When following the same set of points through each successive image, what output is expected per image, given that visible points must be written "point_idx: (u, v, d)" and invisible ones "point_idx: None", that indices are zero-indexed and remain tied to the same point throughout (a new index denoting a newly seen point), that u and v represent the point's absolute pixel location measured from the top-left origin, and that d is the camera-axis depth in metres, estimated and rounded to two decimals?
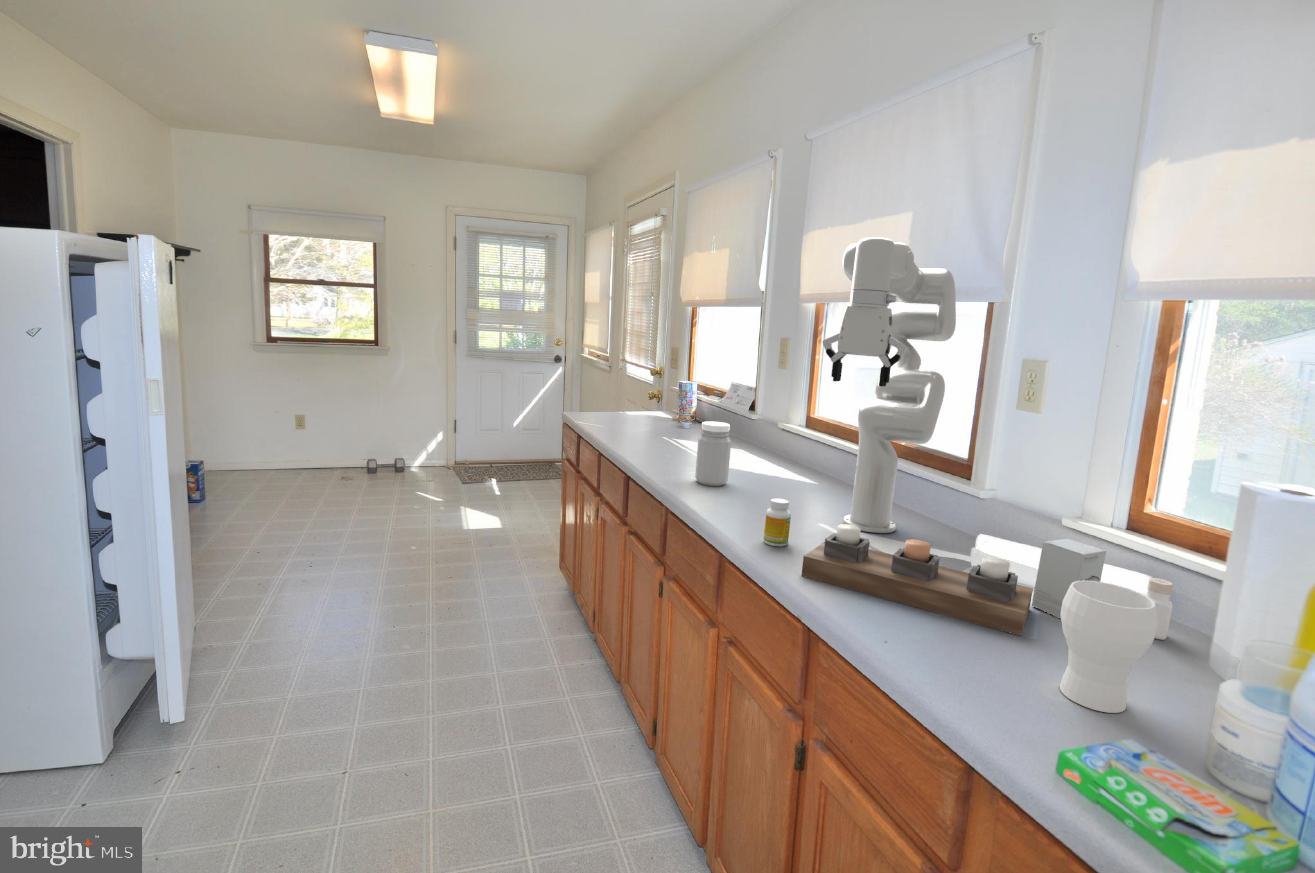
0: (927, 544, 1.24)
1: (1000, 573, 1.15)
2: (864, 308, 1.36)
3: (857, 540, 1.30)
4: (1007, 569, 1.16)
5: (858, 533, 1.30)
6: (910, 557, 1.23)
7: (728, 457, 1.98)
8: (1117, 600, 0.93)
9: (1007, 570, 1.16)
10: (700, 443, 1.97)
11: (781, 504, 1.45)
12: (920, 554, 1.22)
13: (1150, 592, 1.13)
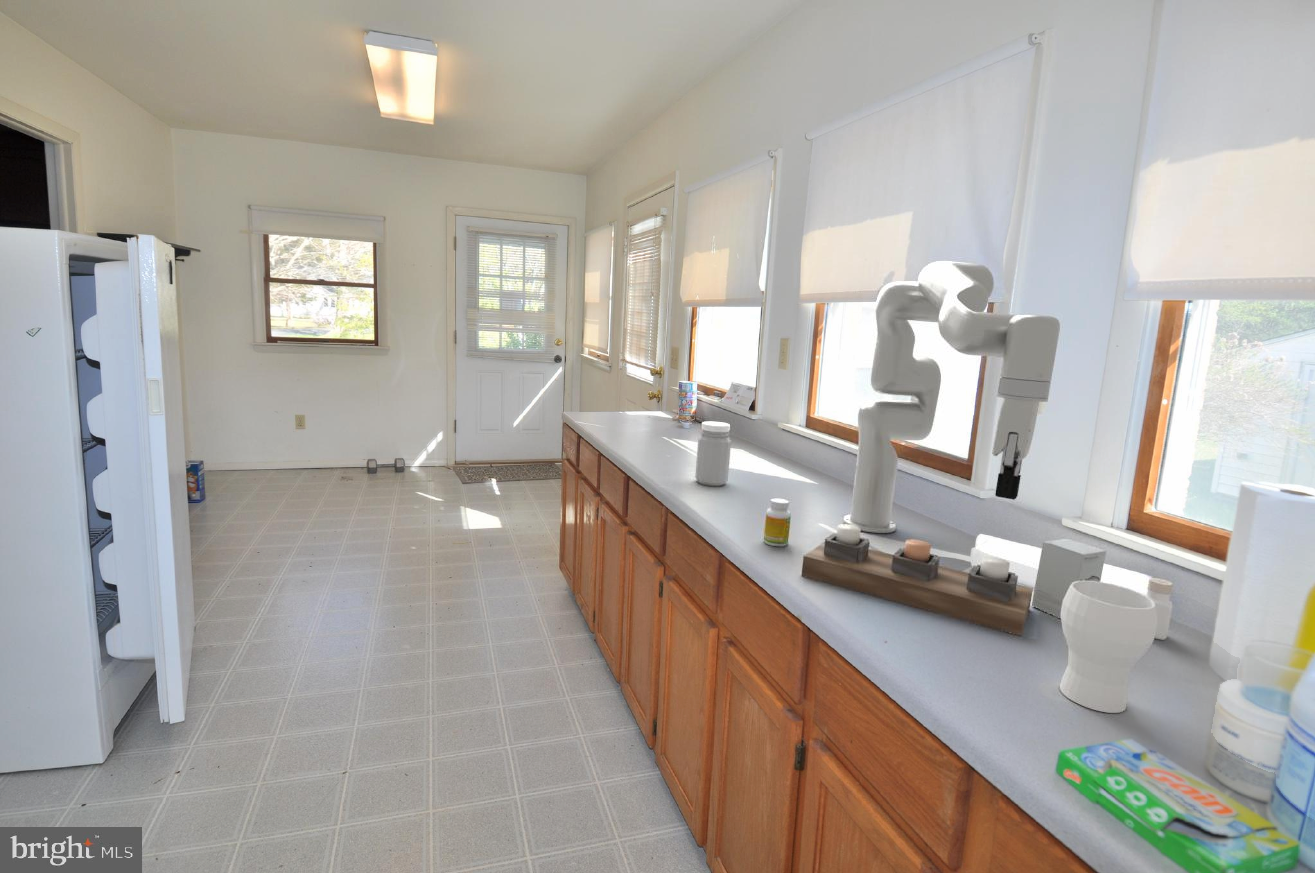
0: (927, 544, 1.24)
1: (1000, 573, 1.15)
2: (1038, 402, 1.11)
3: (857, 540, 1.30)
4: (1007, 569, 1.16)
5: (858, 533, 1.30)
6: (910, 557, 1.23)
7: (728, 457, 1.98)
8: (1117, 600, 0.93)
9: (1007, 570, 1.16)
10: (700, 443, 1.97)
11: (781, 504, 1.45)
12: (920, 554, 1.22)
13: (1150, 592, 1.13)
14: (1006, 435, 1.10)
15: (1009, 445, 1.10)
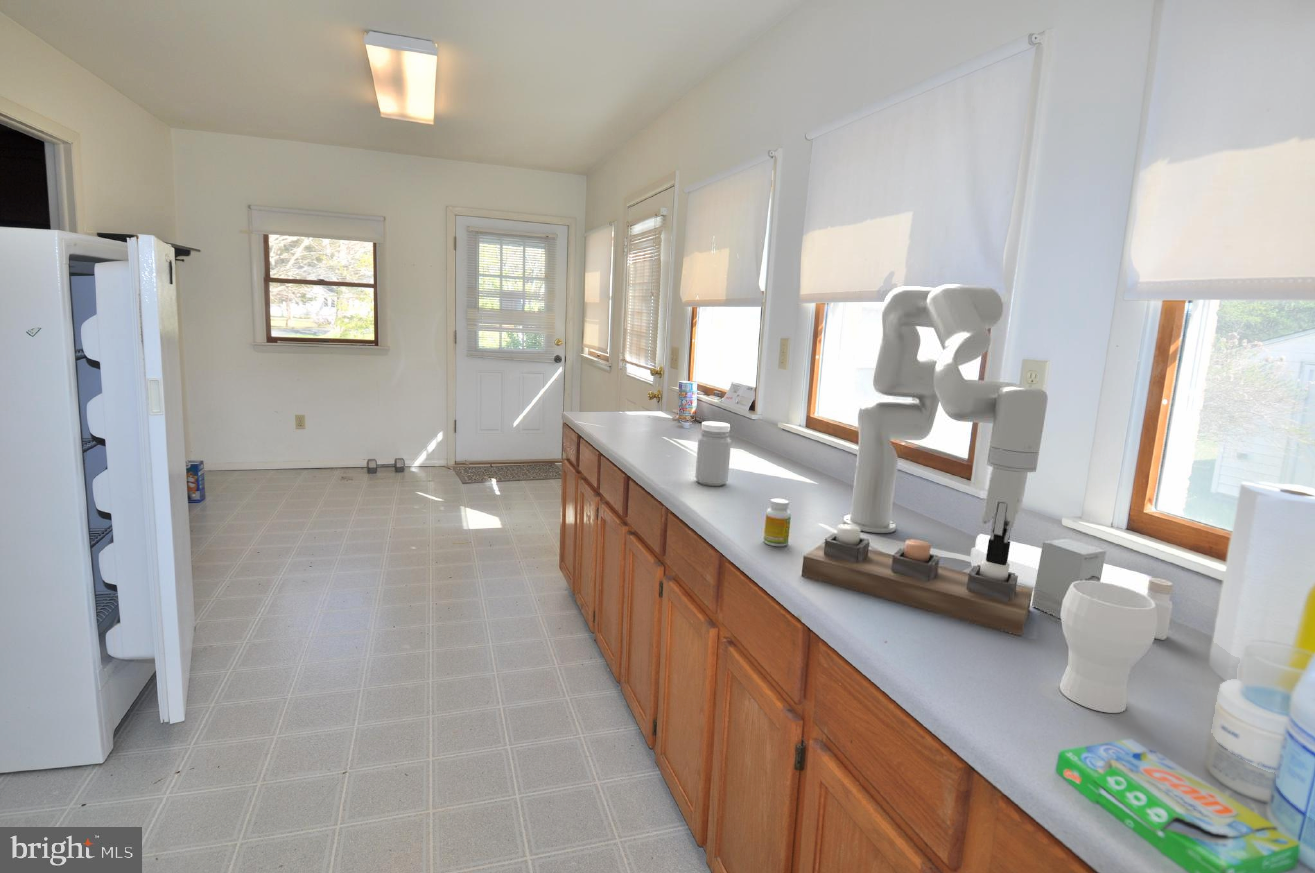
0: (927, 544, 1.24)
1: (1000, 574, 1.15)
2: (1027, 471, 1.13)
3: (857, 540, 1.30)
4: (1007, 570, 1.16)
5: (858, 533, 1.30)
6: (910, 557, 1.23)
7: (728, 457, 1.98)
8: (1117, 600, 0.93)
9: (1007, 571, 1.16)
10: (700, 443, 1.97)
11: (781, 504, 1.45)
12: (920, 554, 1.22)
13: (1150, 592, 1.13)
14: (995, 505, 1.12)
15: (998, 514, 1.12)
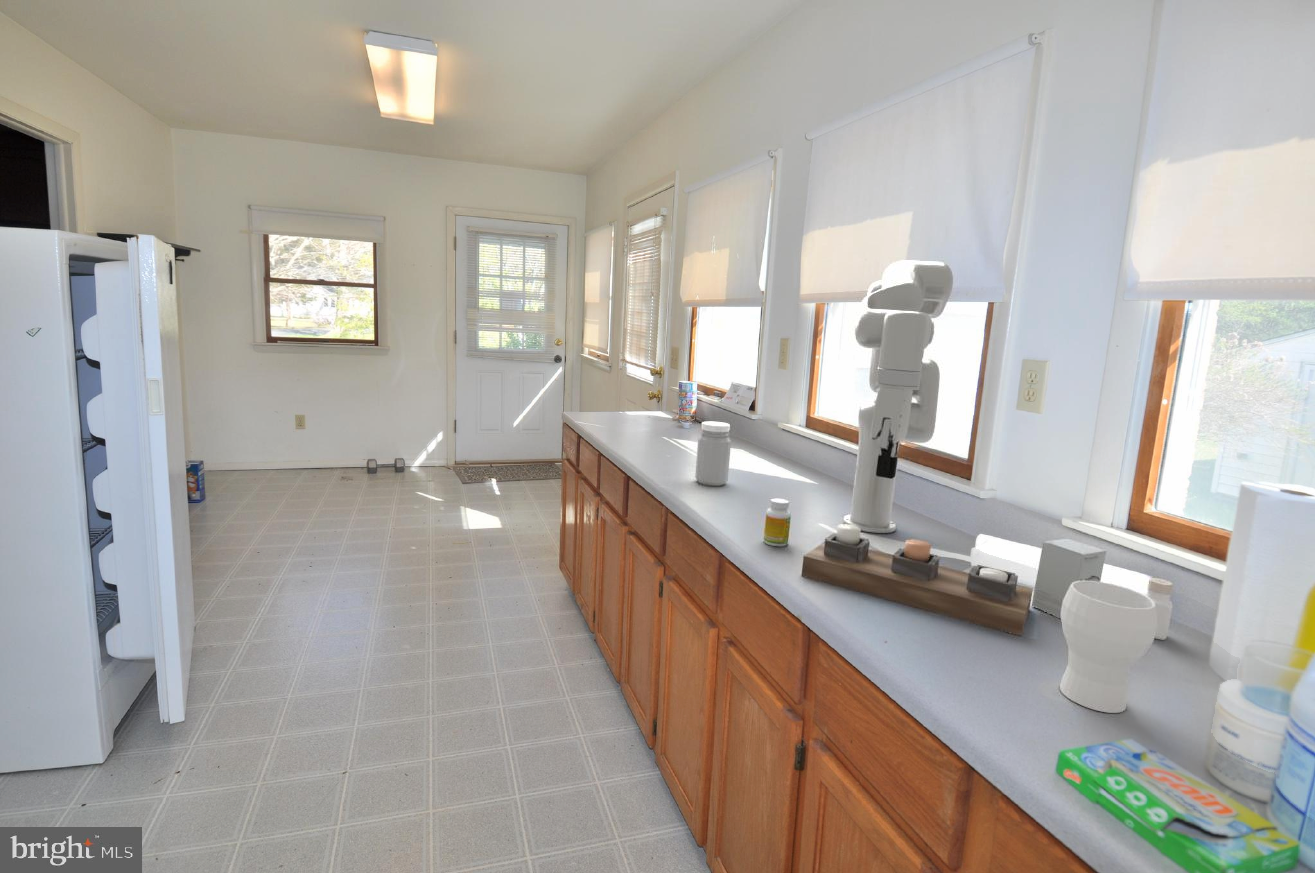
0: (927, 544, 1.24)
1: None
2: (911, 390, 1.22)
3: (857, 540, 1.30)
4: (1005, 581, 1.16)
5: (858, 533, 1.30)
6: (910, 557, 1.23)
7: (728, 457, 1.98)
8: (1117, 600, 0.93)
9: None
10: (700, 443, 1.97)
11: (781, 504, 1.45)
12: (920, 554, 1.22)
13: (1150, 592, 1.13)
14: (881, 420, 1.21)
15: (883, 429, 1.21)
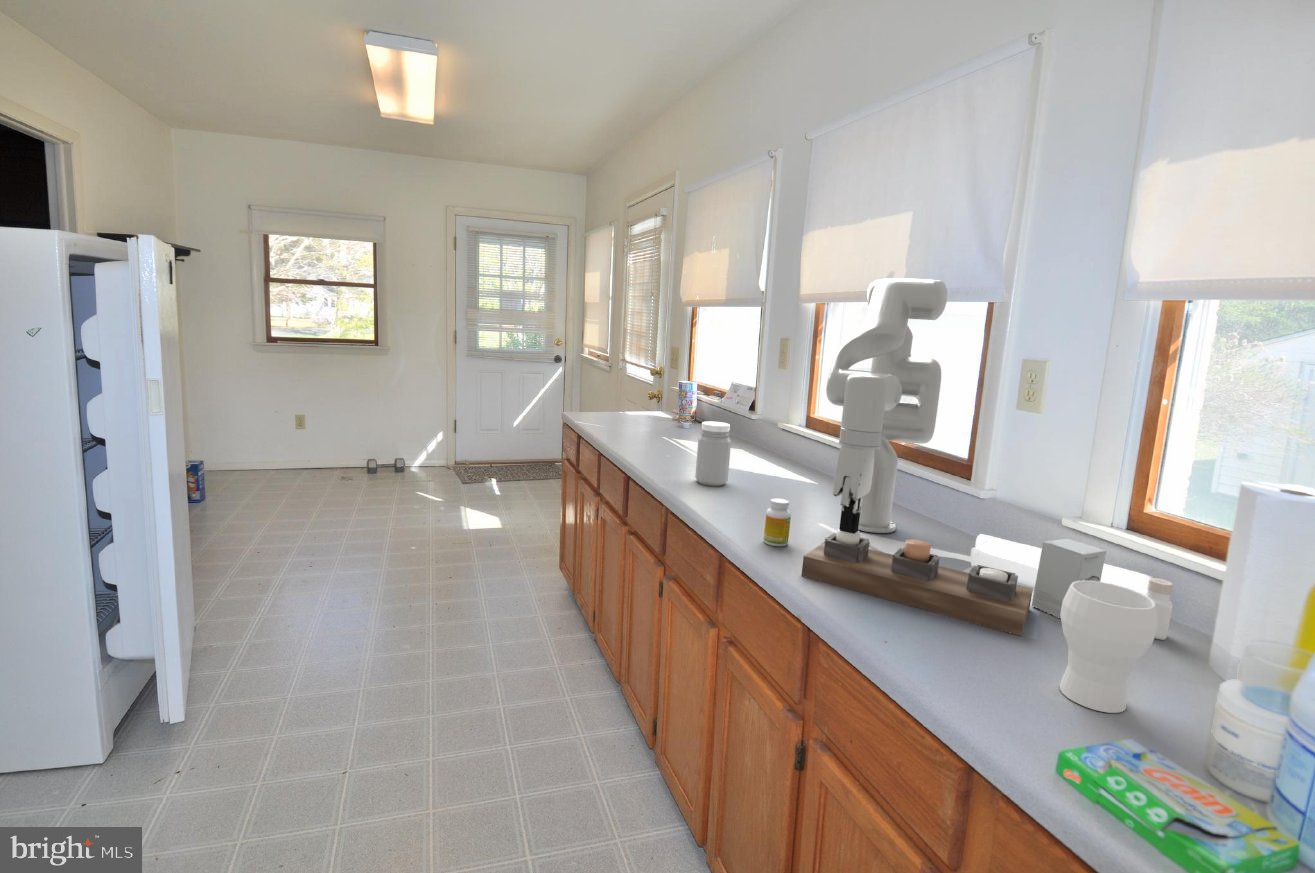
0: (927, 544, 1.24)
1: None
2: (872, 449, 1.27)
3: (857, 543, 1.30)
4: (1005, 581, 1.16)
5: (858, 536, 1.30)
6: (910, 557, 1.23)
7: (728, 457, 1.98)
8: (1117, 600, 0.93)
9: None
10: (700, 443, 1.97)
11: (781, 504, 1.45)
12: (920, 554, 1.22)
13: (1150, 592, 1.13)
14: (841, 478, 1.26)
15: (844, 487, 1.26)
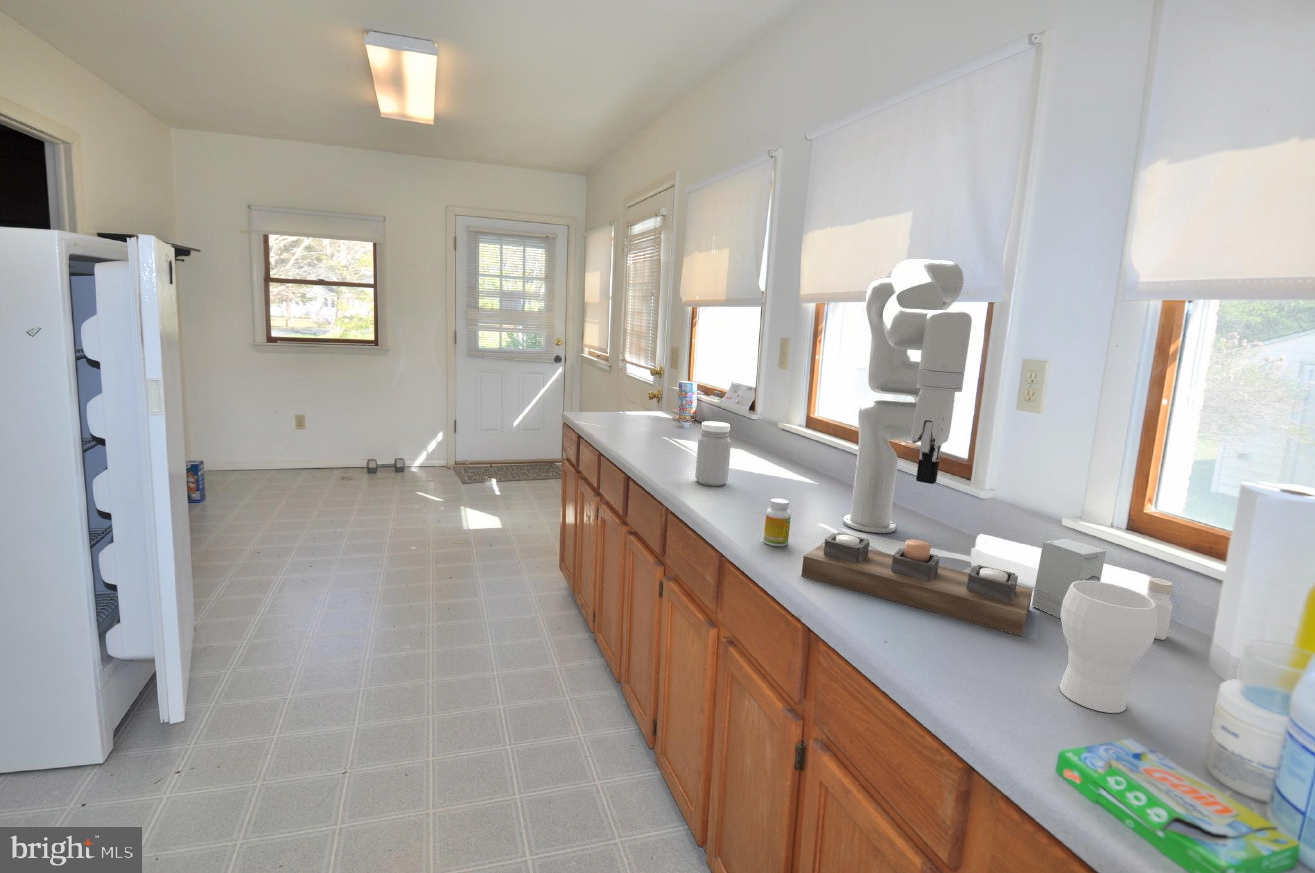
0: (927, 544, 1.24)
1: None
2: (953, 392, 1.18)
3: None
4: (1005, 581, 1.16)
5: (857, 544, 1.30)
6: (910, 557, 1.23)
7: (728, 457, 1.98)
8: (1117, 600, 0.93)
9: None
10: (700, 443, 1.97)
11: (781, 504, 1.45)
12: (920, 554, 1.22)
13: (1150, 592, 1.13)
14: (922, 423, 1.17)
15: (925, 433, 1.17)
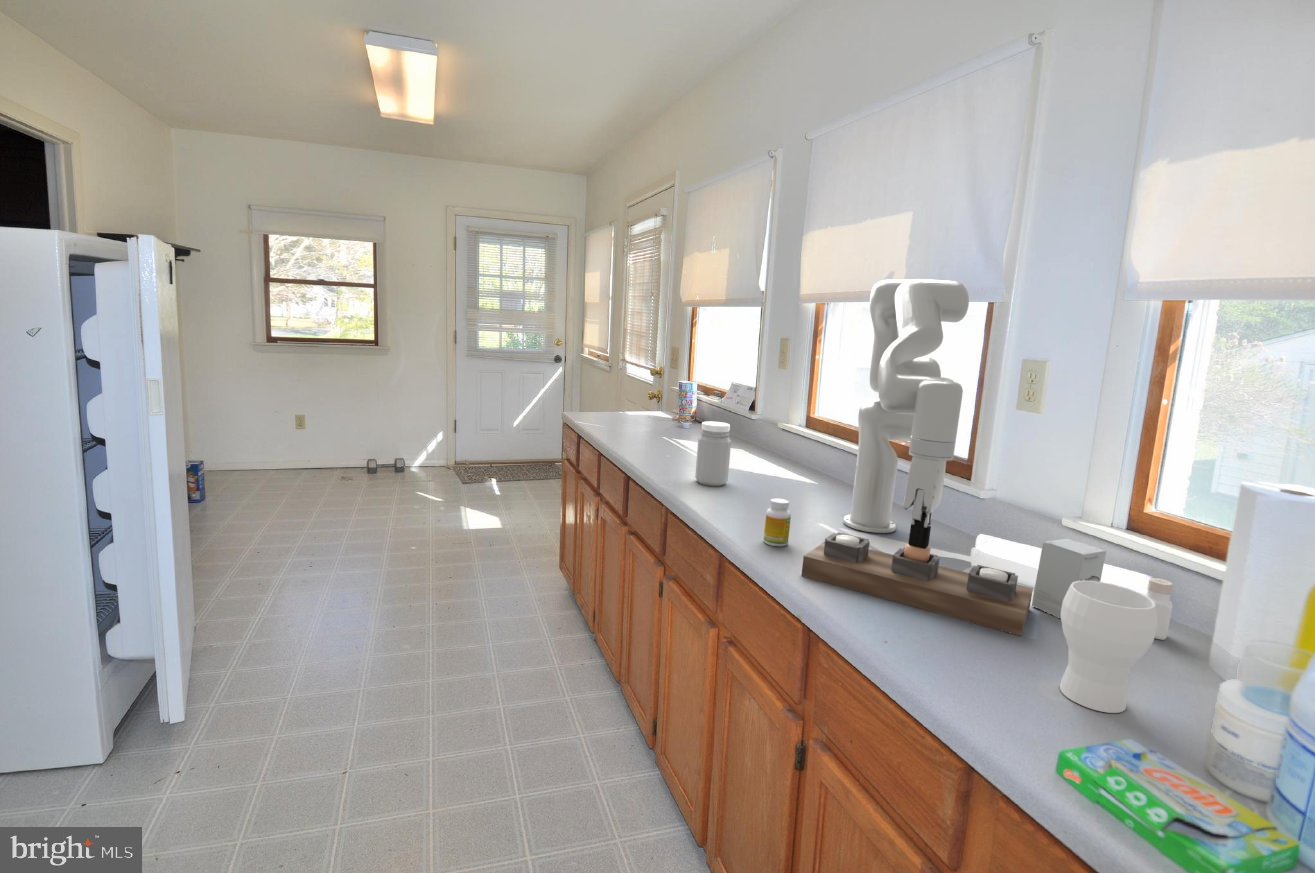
0: (927, 547, 1.24)
1: None
2: (945, 460, 1.20)
3: None
4: (1005, 581, 1.16)
5: (857, 544, 1.30)
6: None
7: (728, 457, 1.98)
8: (1117, 600, 0.93)
9: None
10: (700, 443, 1.97)
11: (781, 504, 1.45)
12: (920, 557, 1.22)
13: (1150, 592, 1.13)
14: (914, 491, 1.19)
15: (917, 500, 1.19)
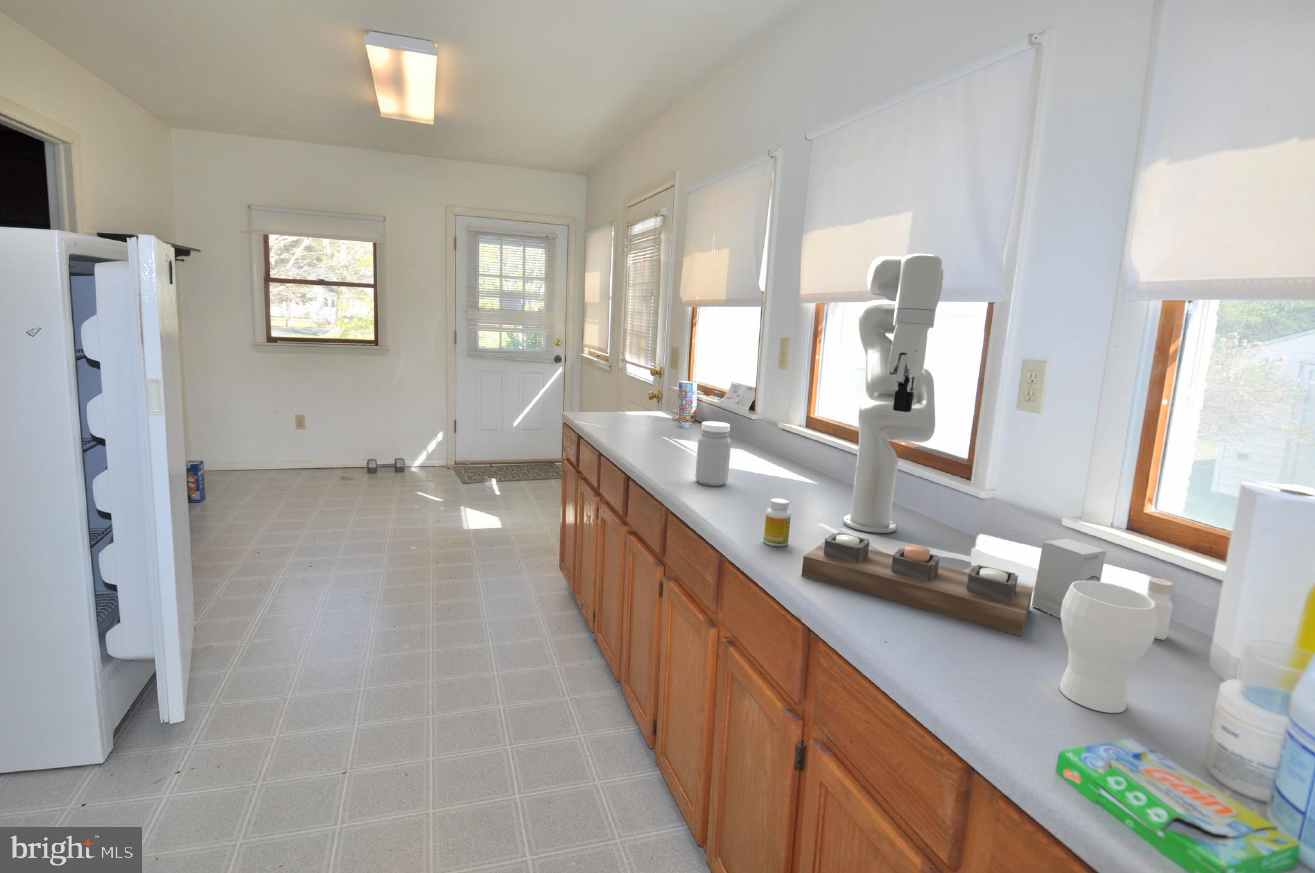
0: (927, 549, 1.24)
1: None
2: (926, 329, 1.32)
3: None
4: (1005, 581, 1.16)
5: (857, 544, 1.30)
6: None
7: (728, 457, 1.98)
8: (1117, 600, 0.93)
9: None
10: (700, 443, 1.97)
11: (781, 504, 1.45)
12: (920, 560, 1.22)
13: (1150, 592, 1.13)
14: (897, 355, 1.30)
15: (900, 364, 1.31)
